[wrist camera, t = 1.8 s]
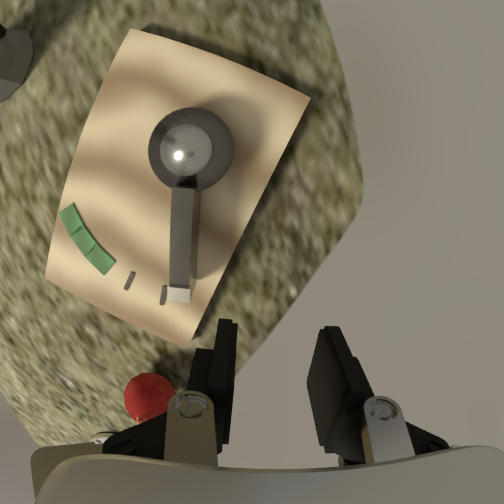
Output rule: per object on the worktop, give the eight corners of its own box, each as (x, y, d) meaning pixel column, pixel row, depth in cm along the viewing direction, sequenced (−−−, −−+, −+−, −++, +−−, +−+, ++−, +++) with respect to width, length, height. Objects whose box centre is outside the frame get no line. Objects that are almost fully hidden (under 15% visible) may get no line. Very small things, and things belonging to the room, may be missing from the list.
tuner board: (189, 340, 32) (186, 349, 30) (51, 273, 30) (43, 279, 28) (307, 100, 25) (311, 97, 23) (136, 33, 22) (130, 27, 21)
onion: (192, 384, 34) (181, 435, 27) (157, 400, 35) (143, 448, 28) (158, 350, 33) (138, 400, 25) (125, 369, 34) (103, 416, 26)
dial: (160, 109, 23) (144, 103, 19) (238, 113, 23) (236, 106, 20) (153, 277, 28) (139, 298, 24) (223, 285, 28) (219, 307, 24)
